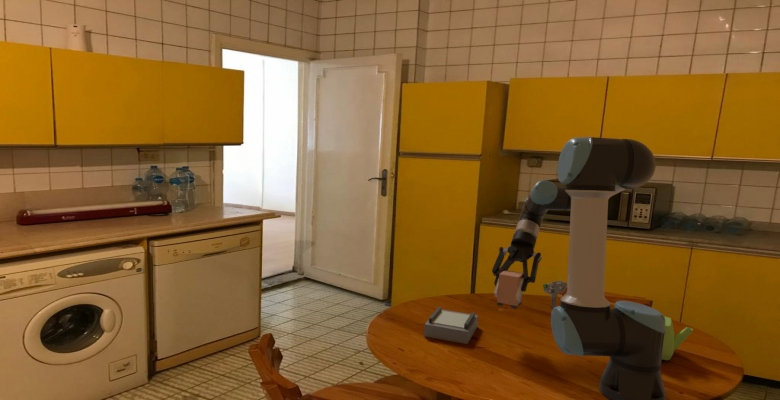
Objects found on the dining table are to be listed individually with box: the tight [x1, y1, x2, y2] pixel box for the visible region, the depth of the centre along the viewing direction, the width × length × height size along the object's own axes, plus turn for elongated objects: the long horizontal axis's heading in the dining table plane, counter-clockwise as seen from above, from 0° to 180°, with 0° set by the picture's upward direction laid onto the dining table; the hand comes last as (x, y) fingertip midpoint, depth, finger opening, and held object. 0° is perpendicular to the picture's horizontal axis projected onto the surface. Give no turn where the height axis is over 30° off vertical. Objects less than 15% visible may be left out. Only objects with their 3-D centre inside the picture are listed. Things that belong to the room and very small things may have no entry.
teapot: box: [662, 315, 694, 361], centre depth 154 cm, size 18×20×13 cm
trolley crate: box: [496, 269, 524, 310], centre depth 158 cm, size 6×6×10 cm
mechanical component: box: [542, 280, 568, 309], centre depth 193 cm, size 3×10×10 cm, turn 115°
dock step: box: [423, 306, 479, 345], centre depth 166 cm, size 16×14×6 cm
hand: (506, 297), depth 155 cm, fingers closed on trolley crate, 6 cm apart
